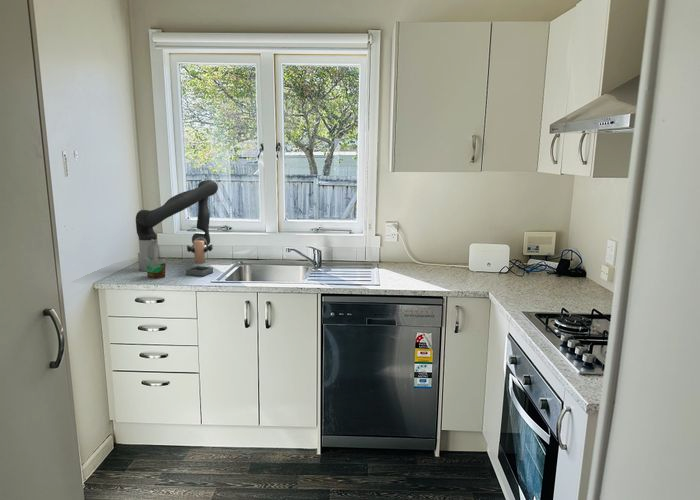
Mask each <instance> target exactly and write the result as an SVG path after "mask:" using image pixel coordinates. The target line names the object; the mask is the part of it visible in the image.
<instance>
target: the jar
mask: <svg viewBox="0 0 700 500" xmlns="http://www.w3.org/2000/svg"><path fill="white" fill-rule="evenodd" d="M193 242H194V253H193V257H194V259H193V260H194V264H197V265H201V264H205V263H206V253H205V250H204V248H205V245H204V240H195V241H193Z"/></svg>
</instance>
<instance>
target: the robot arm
mask: <svg viewBox="0 0 700 500" xmlns="http://www.w3.org/2000/svg"><path fill="white" fill-rule="evenodd" d="M218 191H219V185H218V184H217V182H215V180H211V179H209V180H207V179H206V180H202V181H200V182H199V183H198V185H197V187H195V188H193V189H190V190H185V191H183V192H180V193H178V194H176V195H173V196H172V197H170V198H169V199H167V201H166V202H165V203H164V204H163V205H160V207H157V208H155V209H151V210H148V209H141V210H139V211H138V212H137V213H136V215H135V226H136V227H135V228H136V234H137V237H138V249H139V250H138V251H139V252H138V253H137V255H138V256H137V257H138V260H137V261H138V270H139V271H142V272H147V269H146V263H144V261H145V258H146V257H148V259H159V256H158V255H159V254H158V235H157V233H156V232H155V230H154V227H156V226H157V225H159V224H161V223H162V222H163V221H165V220H166V219H167V218H169V217H172V216H175V215H176V214H178V213H180V212H182V211H184V210H186V209H188V208H189V207H191V206H193V205H195V204H197V210H198V212H197V221H196V229H197V230H200V231H203V232H204V233H199V232H198V233H193V235H191V236H192V237H191V242H192V245H188V244H187V245H186V251H187V252H188V253H192V254H194V242H193V241H195V240H204V245H205V248H204V250H205V254H206V253H208V252H212V250H213V244H210V243H211V236H210V228H209V227H210V219H211V218H210V217H211V216H210V215H211V214H210V210H209V205H208V204H209V202H208V201H209V197H212V196H214V195H216V193H217V192H218Z"/></svg>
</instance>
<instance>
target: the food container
mask: <svg viewBox="0 0 700 500" xmlns="http://www.w3.org/2000/svg"><path fill="white" fill-rule="evenodd" d="M167 262H168V261H167V259H166V258H163V259H159V258H158V259H148V257H146V258H145V261H144V263H146V269H147V271H146V275H147V278H148V279H152V280H153V279H154V280H156V279H164V278H165V277H166V268H167V265H166V264H167Z"/></svg>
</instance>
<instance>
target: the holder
mask: <svg viewBox="0 0 700 500" xmlns="http://www.w3.org/2000/svg"><path fill="white" fill-rule="evenodd" d="M213 273H214V267H212V266H203V265H196V266H192V267H190V268H187V269H185V276H191V277H200V278H204V277H206V276H209V275H211V274H213Z"/></svg>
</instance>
